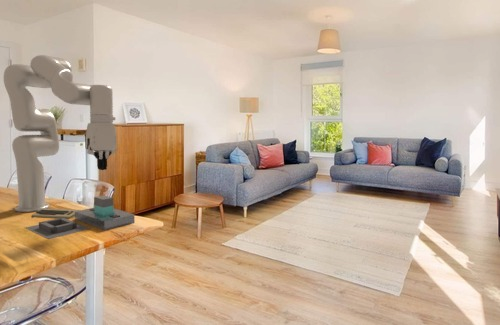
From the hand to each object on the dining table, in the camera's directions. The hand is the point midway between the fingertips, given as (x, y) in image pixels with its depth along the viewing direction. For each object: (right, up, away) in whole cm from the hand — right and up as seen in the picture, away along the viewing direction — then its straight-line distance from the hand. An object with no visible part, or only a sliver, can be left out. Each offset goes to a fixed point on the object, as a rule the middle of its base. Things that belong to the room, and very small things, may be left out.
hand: (102, 169), depth 125 cm
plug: (0, -20, +2) cm, 21 cm away
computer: (-21, -20, +8) cm, 30 cm away
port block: (0, -20, +2) cm, 21 cm away
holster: (-12, -21, -7) cm, 26 cm away
